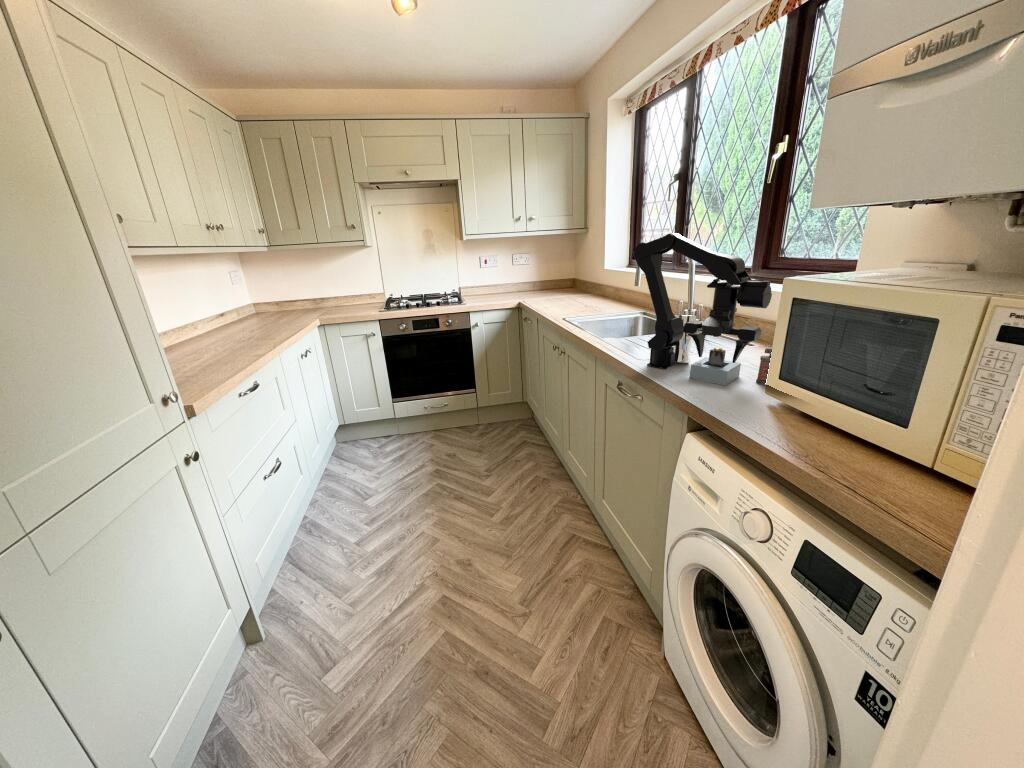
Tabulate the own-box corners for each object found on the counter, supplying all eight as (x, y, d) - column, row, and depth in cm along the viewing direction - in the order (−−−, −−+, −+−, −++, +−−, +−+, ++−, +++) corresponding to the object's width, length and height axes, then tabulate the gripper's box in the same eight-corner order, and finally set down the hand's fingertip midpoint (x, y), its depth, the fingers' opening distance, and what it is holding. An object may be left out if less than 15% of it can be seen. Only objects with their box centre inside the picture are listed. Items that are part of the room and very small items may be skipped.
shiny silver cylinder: (687, 360, 132) (693, 315, 129) (693, 363, 125) (700, 315, 122) (665, 359, 133) (671, 314, 130) (671, 362, 126) (676, 314, 123)
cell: (704, 375, 115) (707, 349, 112) (710, 372, 117) (713, 346, 115) (719, 378, 112) (722, 351, 109) (724, 374, 115) (728, 348, 112)
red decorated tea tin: (790, 384, 107) (798, 349, 104) (790, 388, 104) (798, 352, 101) (756, 380, 111) (762, 345, 108) (755, 383, 109) (761, 348, 105)
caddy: (689, 377, 115) (691, 364, 114) (703, 369, 122) (705, 357, 120) (725, 385, 108) (727, 371, 107) (738, 376, 115) (741, 363, 113)
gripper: (677, 306, 109) (672, 360, 114) (752, 312, 96) (742, 372, 101) (694, 301, 116) (689, 352, 122) (766, 306, 103) (756, 363, 109)
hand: (716, 359), depth 113 cm, fingers open, 9 cm apart
